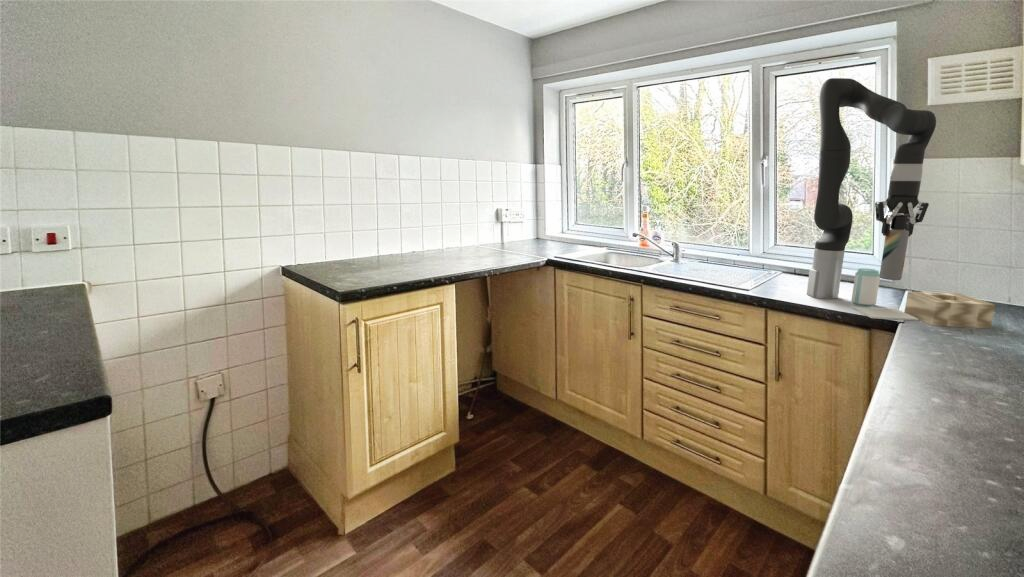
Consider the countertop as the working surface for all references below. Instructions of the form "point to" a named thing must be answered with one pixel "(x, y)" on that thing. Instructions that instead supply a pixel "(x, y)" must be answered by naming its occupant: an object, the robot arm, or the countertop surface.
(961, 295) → the pocket holder
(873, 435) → the countertop surface
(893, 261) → the lotion bottle
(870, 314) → the grey mat
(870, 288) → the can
